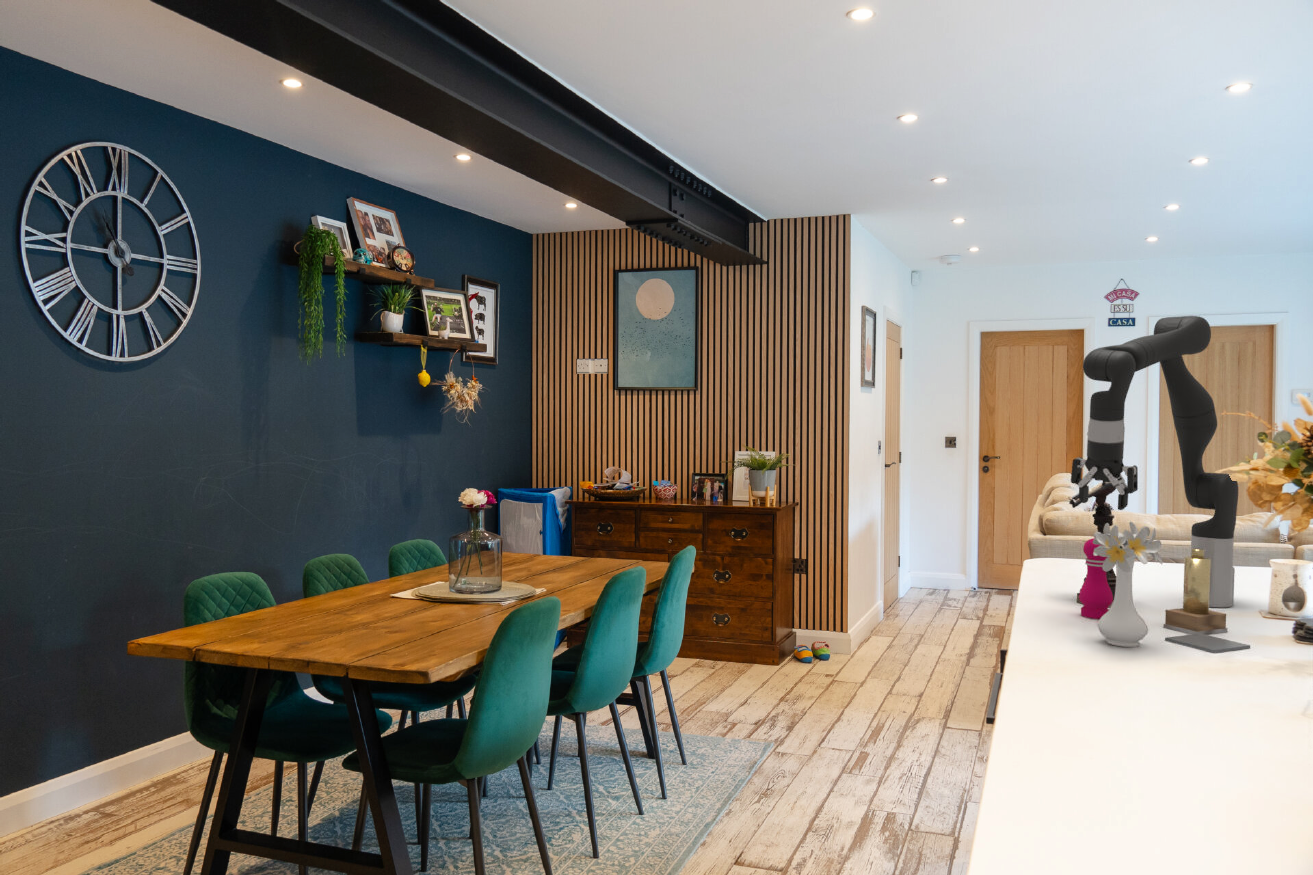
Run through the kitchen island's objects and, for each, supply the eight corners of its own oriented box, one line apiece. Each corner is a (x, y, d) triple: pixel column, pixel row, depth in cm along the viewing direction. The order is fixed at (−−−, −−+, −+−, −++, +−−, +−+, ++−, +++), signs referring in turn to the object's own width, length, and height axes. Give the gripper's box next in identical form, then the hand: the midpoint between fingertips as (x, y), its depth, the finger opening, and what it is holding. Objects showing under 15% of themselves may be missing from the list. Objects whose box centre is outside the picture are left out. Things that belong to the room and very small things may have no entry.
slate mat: (1200, 635, 203) (1200, 633, 203) (1250, 648, 193) (1250, 645, 193) (1164, 640, 199) (1164, 637, 199) (1214, 653, 188) (1214, 650, 188)
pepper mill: (1105, 613, 225) (1108, 530, 224) (1117, 620, 217) (1119, 534, 217) (1074, 612, 225) (1076, 529, 225) (1084, 619, 218) (1087, 533, 217)
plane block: (1193, 624, 215) (1194, 606, 214) (1227, 631, 207) (1228, 613, 207) (1163, 627, 211) (1163, 609, 210) (1196, 635, 203) (1197, 617, 203)
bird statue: (1054, 604, 234) (1058, 464, 233) (1055, 595, 246) (1058, 462, 245) (1128, 610, 228) (1132, 467, 227) (1125, 601, 240) (1129, 464, 239)
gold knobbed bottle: (1193, 608, 212) (1195, 547, 212) (1213, 613, 208) (1216, 550, 207) (1177, 610, 210) (1179, 548, 210) (1198, 614, 206) (1200, 551, 205)
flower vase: (1086, 649, 189) (1089, 526, 189) (1092, 631, 206) (1096, 517, 205) (1159, 659, 183) (1163, 531, 182) (1160, 639, 199) (1164, 522, 199)
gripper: (1145, 438, 210) (1141, 507, 214) (1082, 430, 221) (1080, 496, 225) (1130, 445, 205) (1126, 515, 209) (1067, 436, 216) (1064, 503, 220)
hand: (1102, 505), depth 217 cm, fingers open, 8 cm apart
